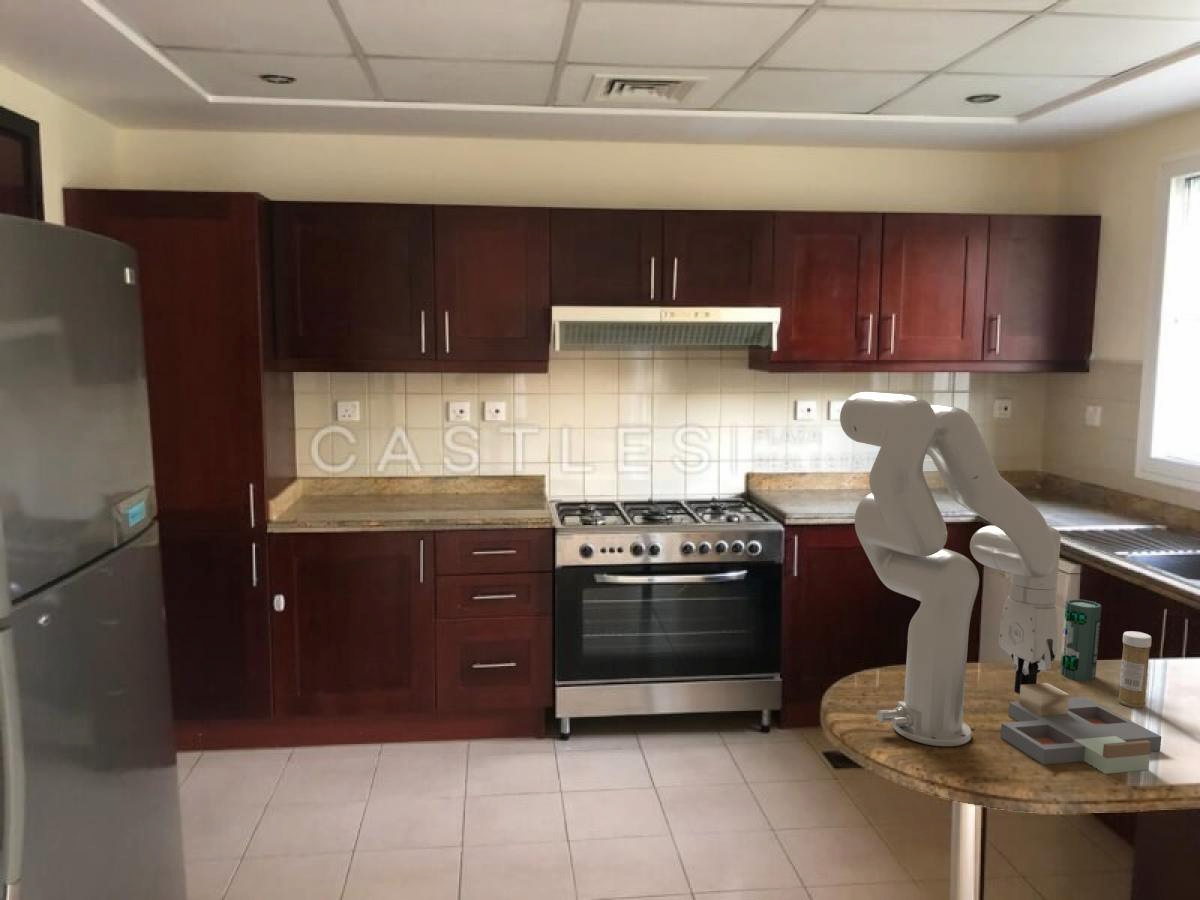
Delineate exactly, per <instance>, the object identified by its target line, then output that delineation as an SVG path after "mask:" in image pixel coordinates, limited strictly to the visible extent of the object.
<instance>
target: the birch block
mask: <svg viewBox="0 0 1200 900" xmlns="http://www.w3.org/2000/svg"><path fill="white" fill-rule="evenodd" d="M1069 698H1070V694H1069V693H1067V692H1066V691H1064V690H1061V689H1060V688H1058V687H1056V686H1054V685H1052V684H1050V683H1048V682H1043V683H1036V684H1025V685H1021V686H1020V694H1019V698H1018V699H1019V701H1018V702H1019V704H1021V705H1022V706H1024V707H1026V708H1028V709H1029V710H1031V711H1033V712H1034V713H1036V714H1038V715H1040V716H1045V715H1058V714H1068V705H1069Z"/></svg>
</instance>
